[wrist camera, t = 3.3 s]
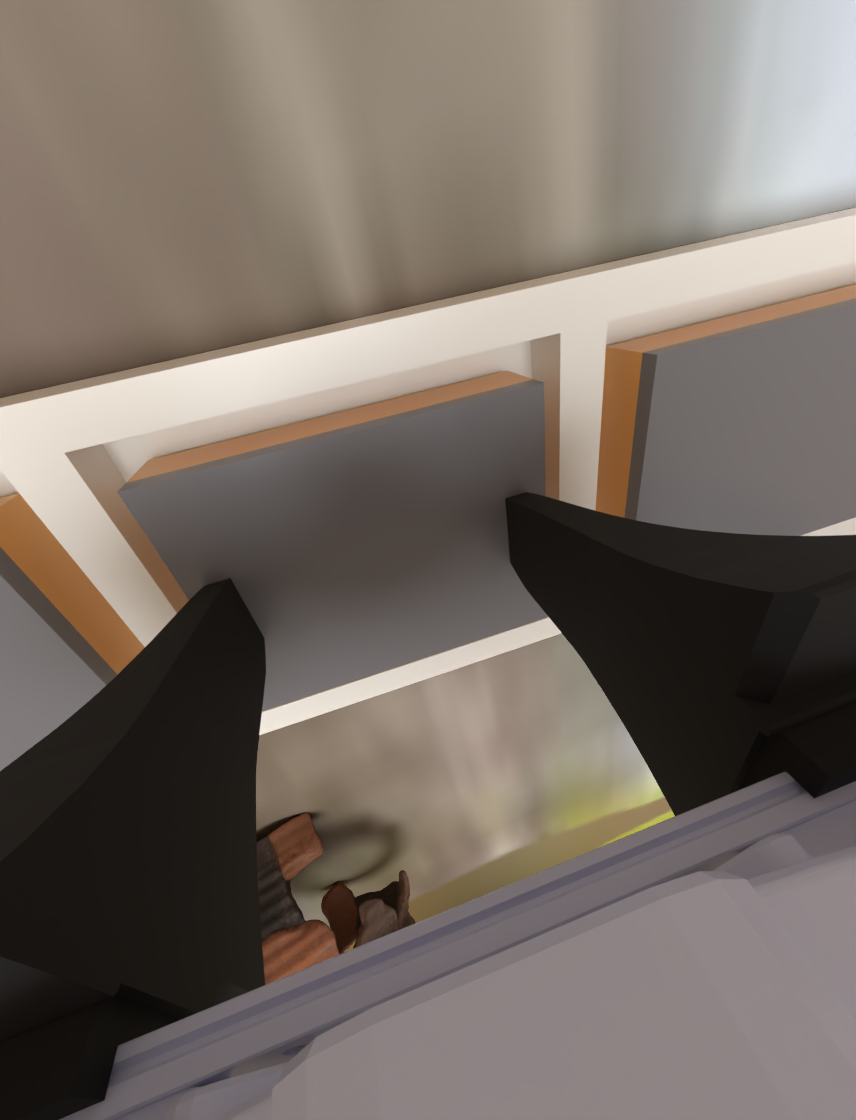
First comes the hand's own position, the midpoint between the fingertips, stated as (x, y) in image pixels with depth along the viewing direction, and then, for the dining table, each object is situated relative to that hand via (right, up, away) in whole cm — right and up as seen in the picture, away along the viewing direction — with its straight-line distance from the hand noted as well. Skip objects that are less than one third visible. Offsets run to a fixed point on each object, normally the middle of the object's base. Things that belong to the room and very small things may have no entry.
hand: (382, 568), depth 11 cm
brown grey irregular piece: (-6, -18, +14) cm, 23 cm away
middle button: (0, +1, +2) cm, 2 cm away
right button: (+11, +4, +3) cm, 12 cm away
